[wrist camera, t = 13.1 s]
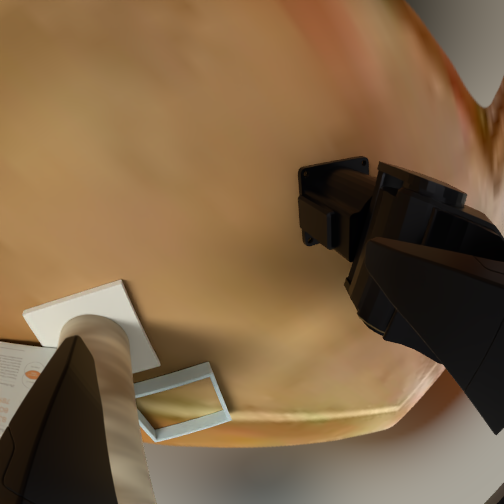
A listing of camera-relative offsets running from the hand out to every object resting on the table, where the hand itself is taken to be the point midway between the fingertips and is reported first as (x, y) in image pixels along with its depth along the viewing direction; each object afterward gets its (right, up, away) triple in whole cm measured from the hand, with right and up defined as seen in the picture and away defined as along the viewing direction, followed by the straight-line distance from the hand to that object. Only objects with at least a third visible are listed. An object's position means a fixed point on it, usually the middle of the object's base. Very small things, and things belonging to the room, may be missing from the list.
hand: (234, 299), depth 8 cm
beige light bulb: (-12, -6, +13) cm, 19 cm away
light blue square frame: (-7, -14, +20) cm, 26 cm away
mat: (-12, -6, +13) cm, 19 cm away
